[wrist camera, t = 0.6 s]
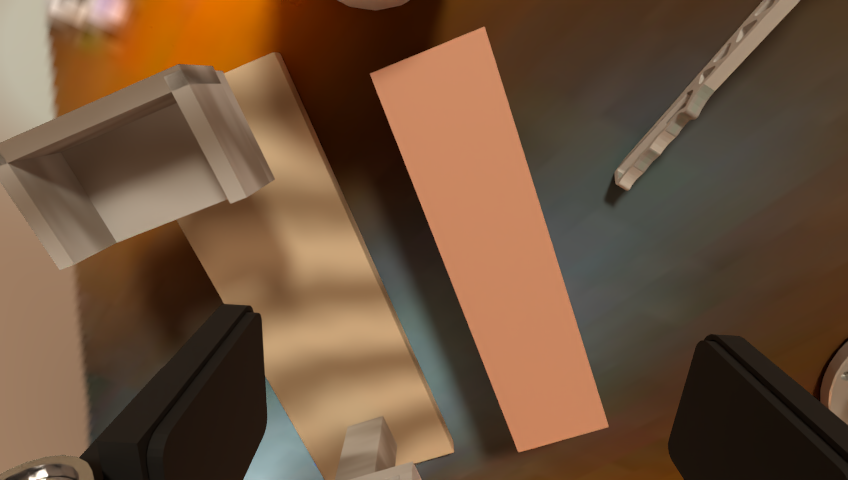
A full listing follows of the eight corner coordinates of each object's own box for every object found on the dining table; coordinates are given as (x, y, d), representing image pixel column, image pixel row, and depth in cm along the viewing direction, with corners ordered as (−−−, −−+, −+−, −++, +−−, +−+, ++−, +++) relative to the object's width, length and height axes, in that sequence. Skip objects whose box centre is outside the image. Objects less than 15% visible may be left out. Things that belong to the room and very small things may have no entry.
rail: (576, 364, 37) (608, 426, 30) (503, 386, 37) (518, 452, 31) (472, 38, 29) (484, 26, 23) (383, 75, 30) (369, 73, 23)
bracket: (943, -198, 23) (1105, -201, 16) (628, 127, 38) (640, 201, 31) (896, -238, 23) (1042, -260, 16) (596, 106, 37) (600, 177, 30)
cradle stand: (453, 441, 39) (461, 590, 28) (332, 476, 40) (293, 632, 29) (280, 52, 29) (183, 36, 18) (130, 117, 31) (-47, 139, 19)
